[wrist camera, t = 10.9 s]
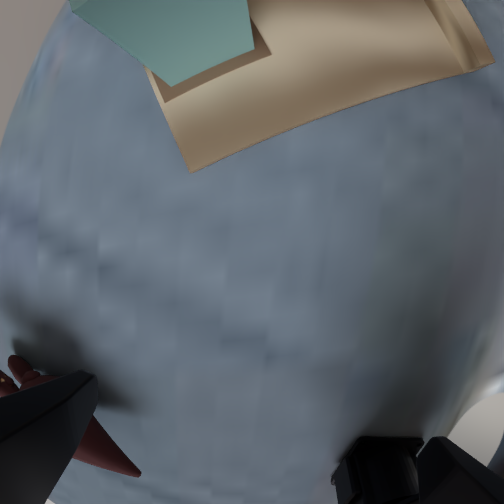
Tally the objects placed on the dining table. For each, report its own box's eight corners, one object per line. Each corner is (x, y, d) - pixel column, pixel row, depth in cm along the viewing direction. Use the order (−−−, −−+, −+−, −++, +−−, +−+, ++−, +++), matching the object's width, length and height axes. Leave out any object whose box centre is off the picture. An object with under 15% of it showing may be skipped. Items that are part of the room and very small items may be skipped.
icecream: (145, 474, 15) (-23, 334, 16) (111, 523, 15) (-34, 401, 15) (170, 426, 22) (30, 321, 23) (137, 476, 22) (11, 380, 22)
